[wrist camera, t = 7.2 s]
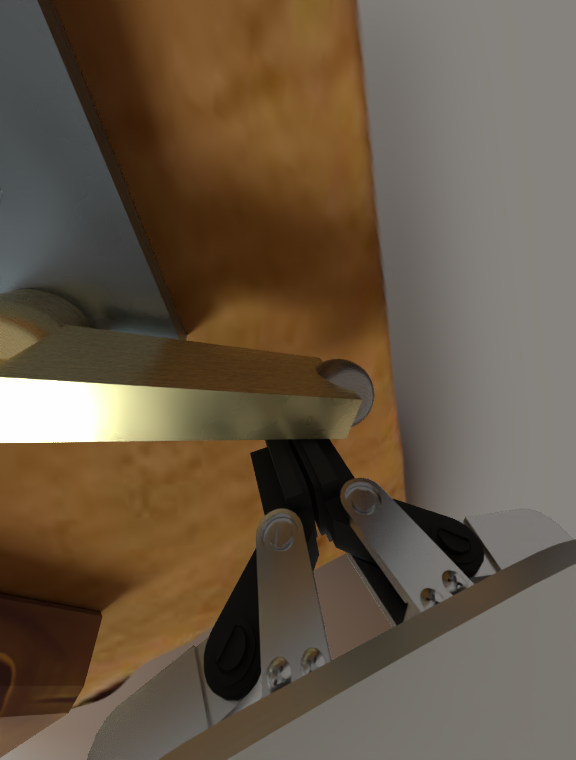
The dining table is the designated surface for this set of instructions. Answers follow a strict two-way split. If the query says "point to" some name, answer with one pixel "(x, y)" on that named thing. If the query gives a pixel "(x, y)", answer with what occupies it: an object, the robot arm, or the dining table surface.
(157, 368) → the brass lever
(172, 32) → the dining table surface
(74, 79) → the levelling plate
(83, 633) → the diary
